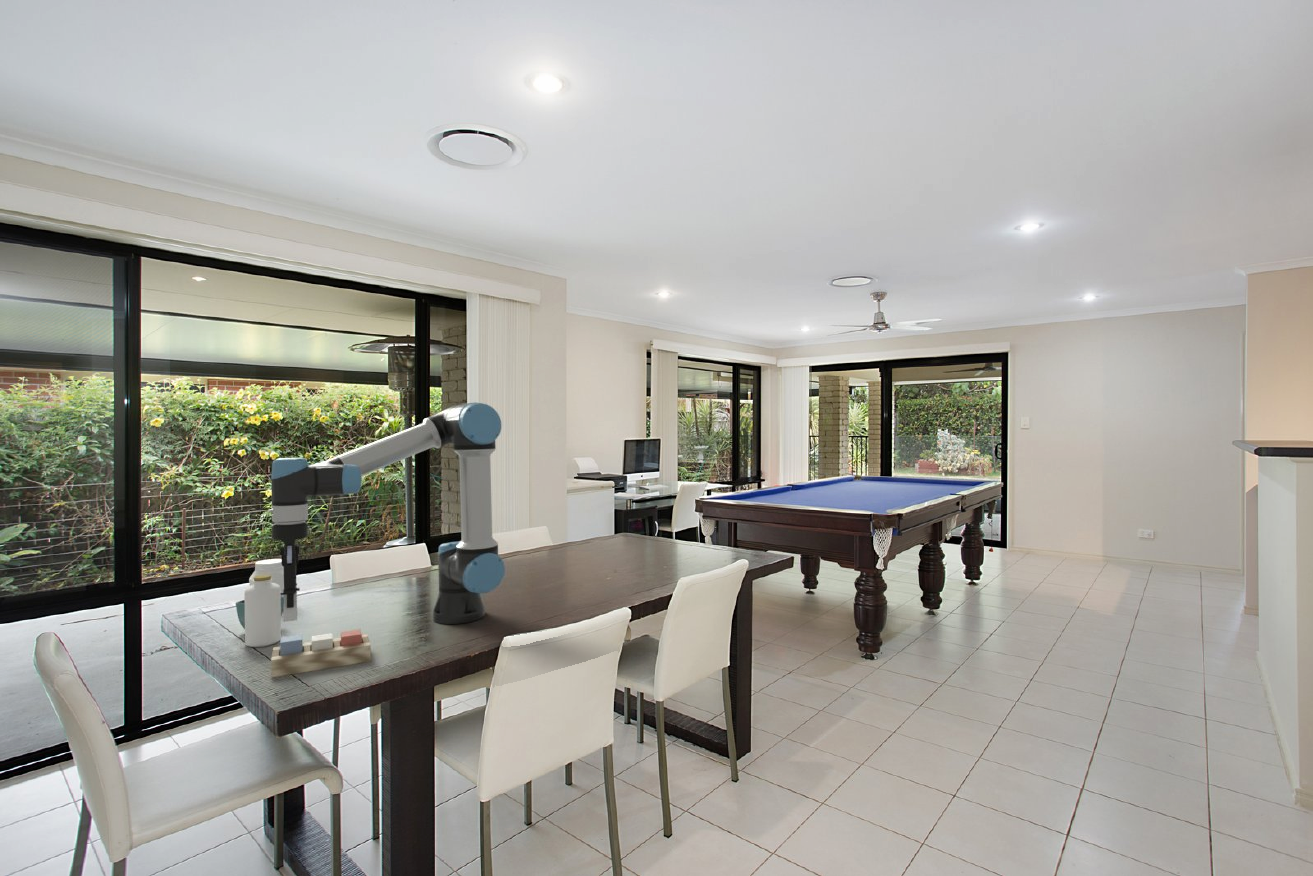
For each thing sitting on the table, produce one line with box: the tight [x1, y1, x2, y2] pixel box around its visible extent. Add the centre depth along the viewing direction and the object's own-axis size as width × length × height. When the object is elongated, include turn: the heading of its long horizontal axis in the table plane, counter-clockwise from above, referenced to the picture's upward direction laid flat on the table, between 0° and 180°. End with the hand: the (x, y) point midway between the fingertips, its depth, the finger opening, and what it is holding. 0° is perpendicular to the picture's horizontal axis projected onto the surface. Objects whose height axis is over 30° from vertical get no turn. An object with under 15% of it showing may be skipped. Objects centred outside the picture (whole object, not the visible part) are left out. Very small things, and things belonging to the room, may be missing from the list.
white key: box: [311, 632, 334, 651], centre depth 156 cm, size 4×4×5 cm
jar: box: [248, 558, 284, 610], centre depth 205 cm, size 12×10×15 cm
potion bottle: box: [243, 575, 282, 648], centre depth 170 cm, size 8×8×18 cm
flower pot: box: [235, 596, 284, 630], centre depth 181 cm, size 9×9×9 cm
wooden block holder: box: [270, 633, 372, 678], centre depth 156 cm, size 21×10×4 cm, turn 119°
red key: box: [340, 628, 362, 646], centre depth 159 cm, size 4×4×5 cm
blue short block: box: [279, 634, 304, 656], centre depth 152 cm, size 4×4×5 cm
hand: (290, 620), depth 152 cm, fingers closed
